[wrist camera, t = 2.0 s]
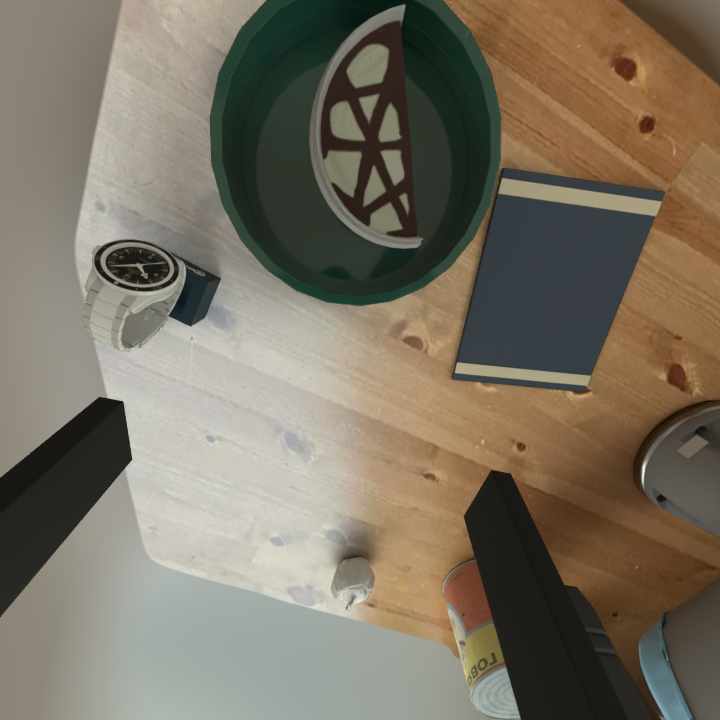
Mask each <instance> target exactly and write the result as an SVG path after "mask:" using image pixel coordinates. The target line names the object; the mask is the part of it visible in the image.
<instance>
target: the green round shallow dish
mask: <svg viewBox="0 0 720 720" xmlns="http://www.w3.org/2000/svg"><path fill="white" fill-rule="evenodd" d="M403 4H405V11H404V16H403V21H402V26H401V35H402V46H403V58H404V71H405V83H406V95H407V106H408V117H409V126H410V136H411V152H412V170H413V185H414V199H415V212H416V220H417V232H418V236H419V237H421V238H422V239H423V240H421V245H419V246H418V247H417V248H405V249H404V248H393V247H387V246H383V245H379V244H376V243H374V242H372V241H369V240H367V239H365V238H363V237H361V236H360V235H358V234H357V233H355V232H354V231H352V230H351V229H350V228H349V227H348V226H346V225H345V224H344V223H343V222H342V221H341V220H340V219H339V218H338V216H337V215H336V214H335V213H334V211H333V210H332V209H331V208H330V206H329V204H328V203H327V201H326V199H325V198H324V196H323V194H322V192H321V190H320V187H319V185H318V182H317V180H316V177H315V173H314V169H313V165H312V161H311V153H310V144H309V135H310V119H311V113H312V107H313V103H314V100H315V96H316V93H317V90H318V87H319V84H320V81H321V79H322V77H323V74H324V72H325V70H326V68H327V66H328V64H329V62H330V60H331V58H332V57H333V56H334V54H335V53H336V51H337V50H338V48H339V47H340V45H341V44H342V43H343V42H344V41H345V40H346V38H347V37H348V36H349V35H350V34H351V33H352V32H353V31H354V30H355V29H356V28H358V27H359V26H360V25H362V24H363V23H364V22H366V21H367V20H368V19H370V18H372V17H374V16H376V15H378V14H380V13H382V12H384V11H386V10H388V9H390V8H393V7H396V6H400V5H403ZM210 137H211V162H212V168H213V171H214V175H215V179H216V182H217V186H218V190H219V194H220V197H221V201H222V205H223V207H224V209H225V211H226V213H227V214H228V216H229V218H230V220H231V222H232V224H233V226H234V228H235V230H236V231H237V233H238V235H239V237H240V239H241V241H242V242H243V243H244V244H245V246H246V247H247V248H248V249H249V250H250V251H251V252H252V254H253V255H254V256H255V257H256V258H257V259H258V261H259V262H260V263H261V264H262V265H263V266H264V267H265V269H267V270H268V271H269V272H271V273H272V274H273V275H275V276H276V277H278V278H279V279H280V280H282V281H283V282H285V283H286V284H287V285H289V286H290V287H292V288H293V289H295V290H296V291H299V292H301V293H304V294H306V295H309V296H312V297H314V298H317V299H319V300H322V301H325V302H328V303H336V304H345V305H354V306H364V305H371V304H377V303H384V302H391V301H394V300H396V299H398V298H401V297H403V296H405V295H408V294H410V293H412V292H415V291H417V290H419V289H422V288H424V287H425V286H426V285H428V284H429V283H430V282H431V281H433V280H434V279H435V278H437V277H438V276H439V275H441V274H442V273H443V272H445V271H446V270H447V269H448V268H450V266H452V264H453V263H454V262H455V261H456V259H457V258H458V257H459V256H460V255H461V253H462V252H463V251H464V250H465V248H466V247H467V246H468V245H469V243H470V242H471V241H472V240H473V238H474V237H475V235H476V233H477V231H478V229H479V227H480V225H481V222H482V220H483V218H484V216H485V214H486V212H487V210H488V208H489V206H490V204H491V200H492V196H493V192H494V188H495V184H496V179H497V175H498V171H499V167H500V161H501V114H500V109H499V104H498V100H497V95H496V91H495V86H494V82H493V77H492V73H491V71H490V69H489V67H488V65H487V63H486V61H485V59H484V57H483V55H482V53H481V51H480V49H479V47H478V45H477V43H476V41H475V39H474V37H473V35H472V33H471V32H470V30H469V29H468V28H467V26H466V25H465V24H464V23H463V22H462V21H461V20H460V19H459V18H458V16H457V15H456V14H455V13H454V12H453V11H452V10H451V9H450V8H449V6H448V5H447V4H446V3H445V2H444V1H443V0H266V1H265V2H264V3H263V5H262V6H261V7H260V8H259V9H258V10H257V11H256V12H255V13H254V14H253V16H252V17H251V18H250V19H249V20H248V21H247V22H246V23H245V24H244V25H243V26H242V28H241V30H239V32H238V34H237V37H236V39H235V41H234V43H233V45H232V47H231V49H230V51H229V53H228V55H227V57H226V59H225V61H224V63H223V65H222V67H221V69H220V72H219V74H218V79H217V84H216V89H215V94H214V99H213V104H212V109H211V114H210Z"/></svg>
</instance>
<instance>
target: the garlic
mask: <svg viewBox="0 0 720 720" xmlns="http://www.w3.org/2000/svg"><path fill="white" fill-rule="evenodd" d="M374 580H375V577H374V572H373V571H372V569H371V568H370V564H369V562H368V561H367V560H366V559H364V558H362V557H354V558H351V559H345V560H343V561H342V562H341V563H340V564H339V566H338V567H337V570H336V572H335V574H334V578H333V581H332V586H331V590H332V594H333V596H334V597H335V598H336V599H339V600H342V601H344V602H346V603H348V605H347V606H346V610H347V611H349V610H350V609H351V606H352V604H354V603H359V602H362V601H365V600H366V599H367V598H368V596H369V594H370V592H371V590H372V588H373V586H374Z"/></svg>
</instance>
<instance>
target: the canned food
mask: <svg viewBox="0 0 720 720" xmlns="http://www.w3.org/2000/svg"><path fill="white" fill-rule="evenodd" d="M442 594H443V597H444V599H445V602H446V606H447V610H448V614H449V617H450V621H451V625H452V629H453V632H454V636H455V640H456V644H457V647H458V651H459V655H460V659H461V662H462V666H463V669H464V674H465V677H466V681H467V685H468V689H469V692H470V699H471V703H472V705H473V707H474V708H475V709H476V710H477V711H478V712H479V713H481V714H483V715H484V716H487V717H490V718H494V719H500V720H518V719H520V715H519V711H518V708H517V704H516V701H515V697H514V694H513V690H512V687H511V683H510V679H509V676H508V672H507V669H506V665H505V662H504V658H503V655H502V651H501V647H500V644H499V640H498V637H497V633H496V630H495V626H494V623H493V619H492V615H491V612H490V608H489V605H488V601H487V598H486V594H485V591H484V587H483V583H482V580H481V576H480V573H479V569H478V566H477V562H476V559H474V560H471V561H468V562H465V563H463V564H461V565H459V566H458V567H456V568H455V569H453V570H452V571H451V572H450V573H449V574H448V575H447V577H446V578H445V580H444V582H443V586H442Z"/></svg>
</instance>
